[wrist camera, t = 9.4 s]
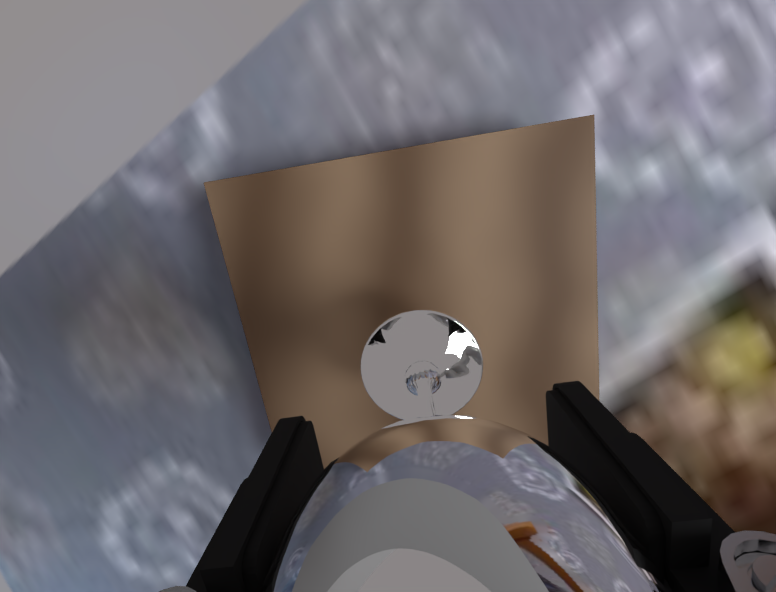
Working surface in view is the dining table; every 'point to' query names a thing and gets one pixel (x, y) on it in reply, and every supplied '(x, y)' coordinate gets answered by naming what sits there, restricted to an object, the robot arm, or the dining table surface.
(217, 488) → the dining table surface
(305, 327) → the stand
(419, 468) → the wineglass
